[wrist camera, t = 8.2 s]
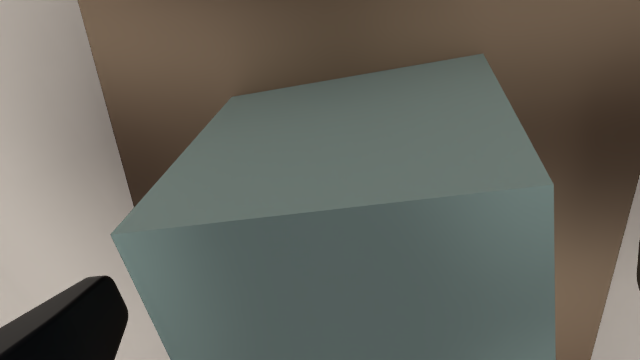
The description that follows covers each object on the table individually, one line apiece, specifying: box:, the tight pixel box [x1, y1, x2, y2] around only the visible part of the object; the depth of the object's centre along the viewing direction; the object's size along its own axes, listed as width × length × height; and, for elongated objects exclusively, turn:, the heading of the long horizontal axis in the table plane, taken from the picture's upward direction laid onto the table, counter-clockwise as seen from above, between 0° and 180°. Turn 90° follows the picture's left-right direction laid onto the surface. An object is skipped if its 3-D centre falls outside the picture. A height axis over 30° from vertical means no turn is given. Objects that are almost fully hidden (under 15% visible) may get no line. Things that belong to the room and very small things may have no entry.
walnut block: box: [78, 0, 640, 360], centre depth 13 cm, size 11×11×5 cm
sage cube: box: [111, 54, 556, 360], centre depth 9 cm, size 5×5×5 cm
